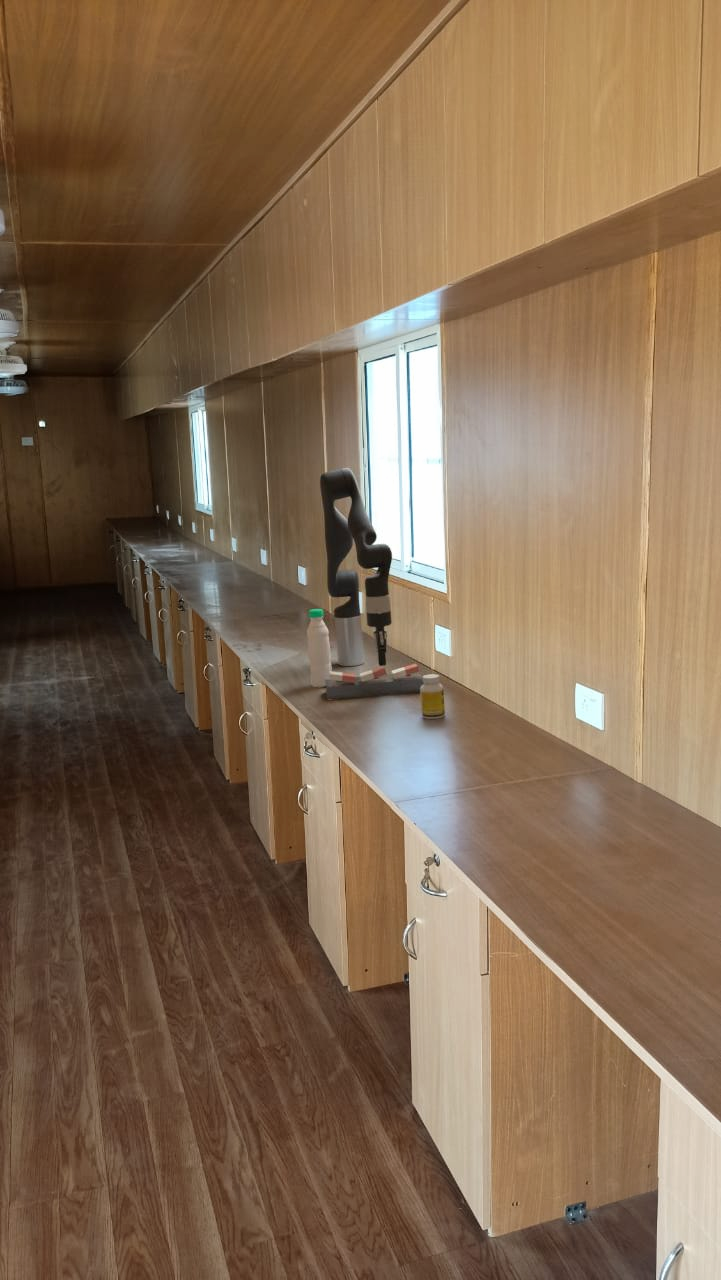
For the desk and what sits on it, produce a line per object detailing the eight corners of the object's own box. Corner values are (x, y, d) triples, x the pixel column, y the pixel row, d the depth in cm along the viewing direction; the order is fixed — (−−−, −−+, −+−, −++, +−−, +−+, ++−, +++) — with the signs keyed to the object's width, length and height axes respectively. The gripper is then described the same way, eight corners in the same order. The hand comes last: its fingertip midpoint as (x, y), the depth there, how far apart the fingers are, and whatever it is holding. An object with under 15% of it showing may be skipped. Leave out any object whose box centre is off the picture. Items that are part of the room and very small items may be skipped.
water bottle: (334, 682, 324) (328, 607, 319) (331, 687, 317) (325, 611, 312) (313, 683, 325) (306, 608, 320) (309, 688, 318) (303, 612, 313)
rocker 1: (328, 676, 305) (329, 671, 305) (354, 679, 306) (354, 674, 306) (328, 679, 301) (329, 673, 301) (354, 682, 302) (355, 677, 302)
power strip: (326, 692, 312) (325, 679, 311) (420, 683, 313) (419, 670, 312) (327, 700, 302) (325, 686, 301) (424, 691, 303) (423, 678, 302)
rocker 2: (361, 679, 306) (359, 673, 306) (385, 671, 306) (384, 666, 306) (361, 682, 302) (360, 676, 302) (386, 674, 302) (385, 669, 302)
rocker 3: (392, 676, 307) (391, 670, 306) (417, 668, 307) (415, 663, 306) (394, 679, 303) (392, 673, 302) (419, 671, 303) (417, 666, 302)
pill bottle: (443, 719, 272) (441, 678, 269) (420, 720, 273) (417, 679, 271) (446, 713, 278) (444, 673, 275) (423, 713, 279) (421, 673, 277)
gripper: (364, 607, 307) (368, 661, 310) (367, 614, 294) (371, 671, 297) (388, 605, 307) (392, 659, 310) (392, 612, 294) (396, 668, 297)
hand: (382, 665), depth 304 cm, fingers closed
